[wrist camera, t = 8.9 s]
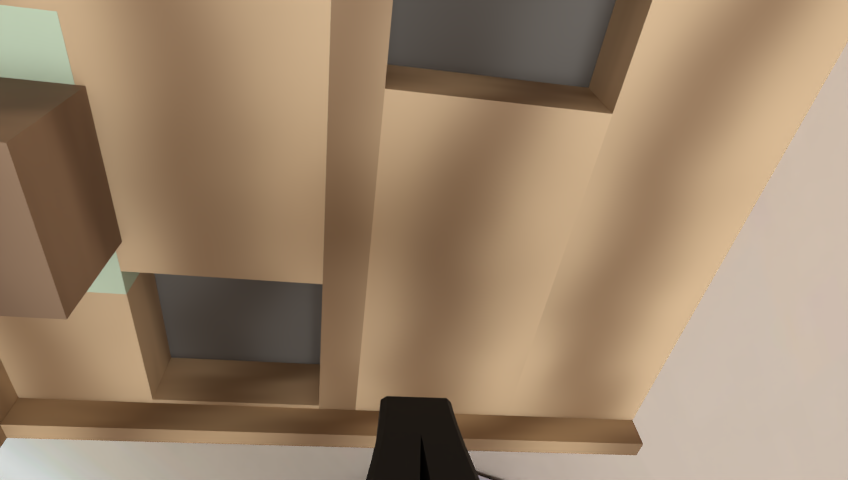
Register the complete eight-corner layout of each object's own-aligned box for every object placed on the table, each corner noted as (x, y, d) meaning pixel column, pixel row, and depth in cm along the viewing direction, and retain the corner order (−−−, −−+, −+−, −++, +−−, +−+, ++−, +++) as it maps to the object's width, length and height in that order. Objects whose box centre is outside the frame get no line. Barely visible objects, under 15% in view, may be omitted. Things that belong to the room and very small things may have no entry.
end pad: (102, -9, 15) (56, 11, 13) (153, 250, 20) (126, 294, 18) (-127, -37, 14) (-215, -22, 12) (-14, 238, 19) (-62, 283, 17)
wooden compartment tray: (887, -178, 14) (1074, -195, 10) (607, 386, 26) (643, 472, 22) (-279, -405, 10) (-645, -555, 7) (36, 361, 23) (-31, 456, 19)
